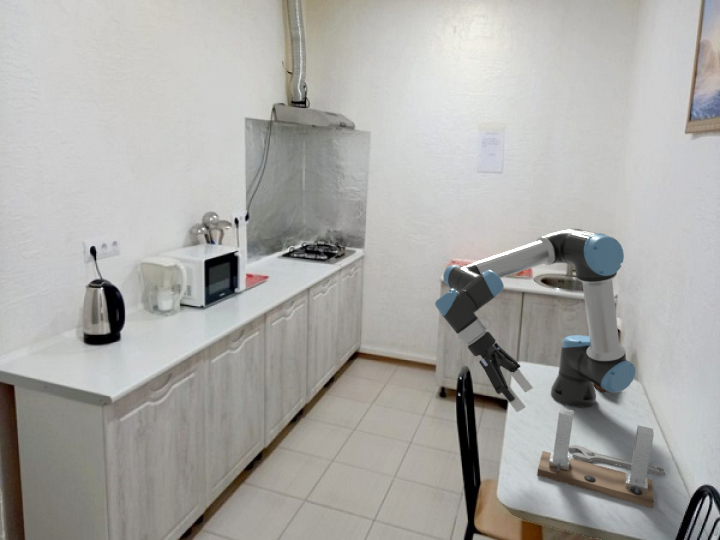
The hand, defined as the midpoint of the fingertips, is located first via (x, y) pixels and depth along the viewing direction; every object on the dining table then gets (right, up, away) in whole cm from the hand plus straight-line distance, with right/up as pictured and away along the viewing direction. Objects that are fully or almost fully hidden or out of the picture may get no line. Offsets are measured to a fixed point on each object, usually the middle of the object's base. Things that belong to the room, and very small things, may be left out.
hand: (525, 399), depth 147 cm
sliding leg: (+9, -18, -2) cm, 20 cm away
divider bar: (+17, -21, -4) cm, 27 cm away
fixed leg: (+26, -21, -9) cm, 34 cm away
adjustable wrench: (+27, -20, +4) cm, 34 cm away
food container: (+45, -9, +55) cm, 72 cm away
